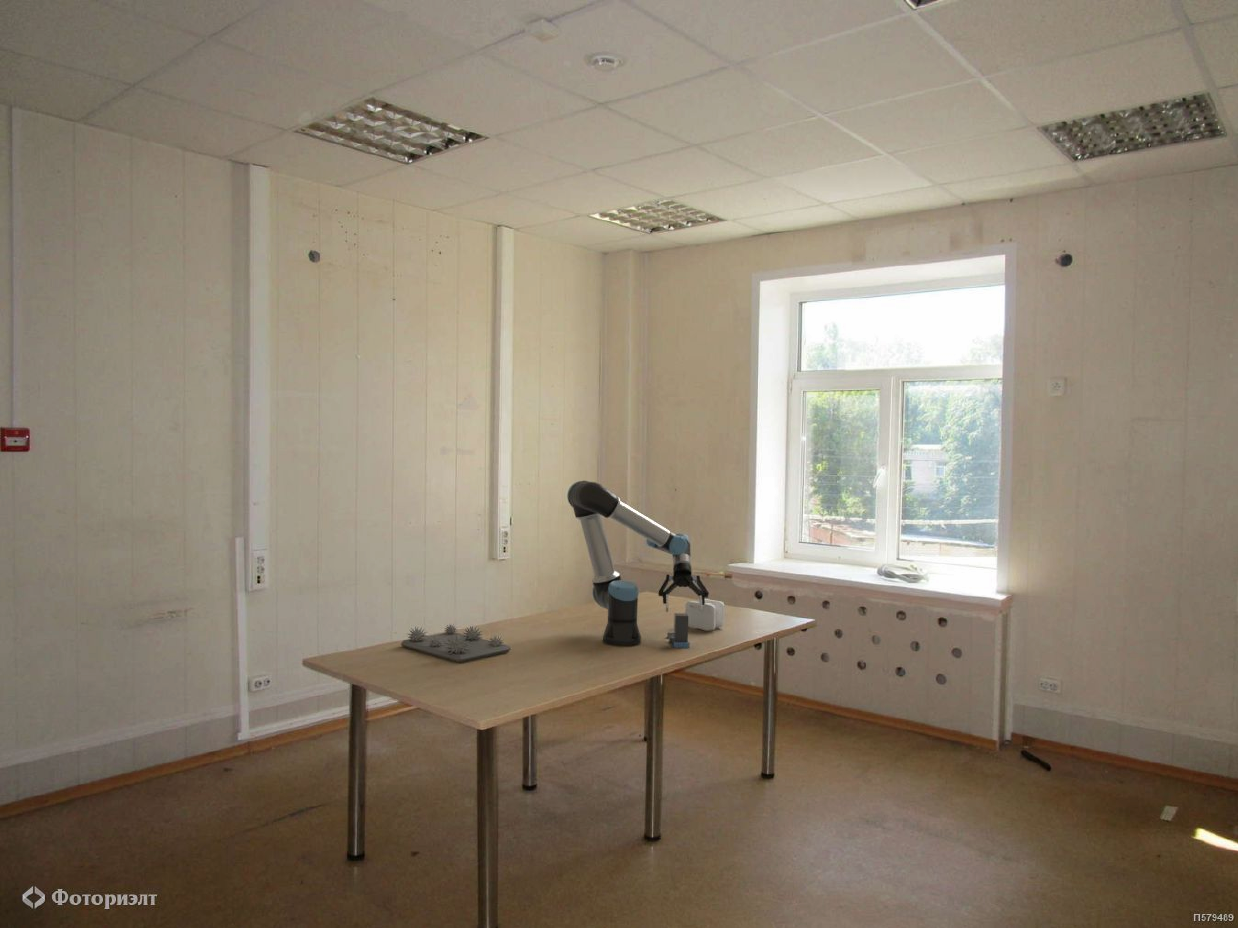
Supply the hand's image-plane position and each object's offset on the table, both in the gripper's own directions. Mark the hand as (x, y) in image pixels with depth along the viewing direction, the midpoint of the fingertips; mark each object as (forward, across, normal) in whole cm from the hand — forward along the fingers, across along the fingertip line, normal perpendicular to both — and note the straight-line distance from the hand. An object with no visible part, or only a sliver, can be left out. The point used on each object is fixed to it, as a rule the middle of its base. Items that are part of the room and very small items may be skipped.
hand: (684, 610), depth 329 cm
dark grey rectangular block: (+12, +2, -5) cm, 14 cm away
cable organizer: (-10, -12, -29) cm, 33 cm away
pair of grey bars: (+6, +3, -12) cm, 14 cm away
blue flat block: (+12, +2, -5) cm, 14 cm away
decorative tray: (+25, +87, +6) cm, 91 cm away
